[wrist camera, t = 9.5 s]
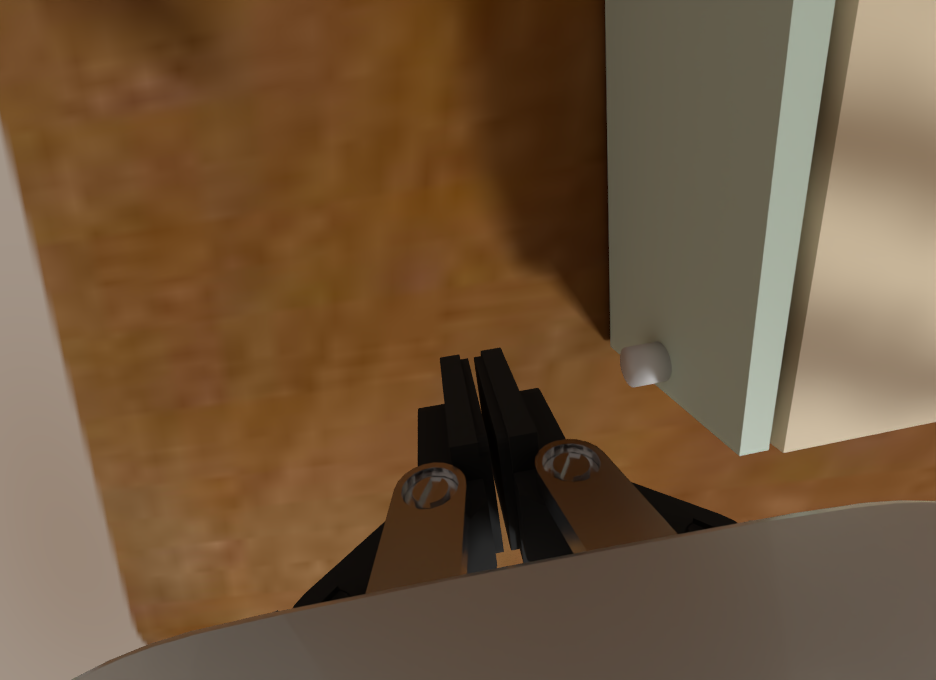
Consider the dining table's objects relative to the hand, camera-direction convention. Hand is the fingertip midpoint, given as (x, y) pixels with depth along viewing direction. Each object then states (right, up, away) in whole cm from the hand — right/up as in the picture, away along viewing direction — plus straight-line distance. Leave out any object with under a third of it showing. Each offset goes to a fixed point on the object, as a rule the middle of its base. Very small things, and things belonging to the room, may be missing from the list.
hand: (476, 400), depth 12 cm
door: (+7, +10, +12) cm, 17 cm away
